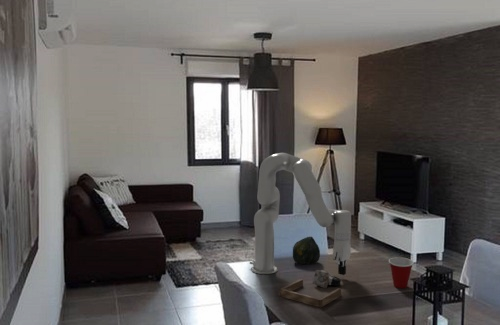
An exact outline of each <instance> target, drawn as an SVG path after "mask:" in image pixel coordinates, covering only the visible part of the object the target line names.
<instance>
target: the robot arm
mask: <svg viewBox="0 0 500 325" xmlns="http://www.w3.org/2000/svg"><path fill="white" fill-rule="evenodd" d="M279 171H286V172H289V173H292V174H293V175H292V176H294V179H295V180H296V182H297V184H298V185H299V188H300V189H301V191H302V193H303V195H304V197H305V200H306V203H307V205H308V208H309V210H310V212H311V215H312V216H313V217H314V219H315V222H316V223H317V224H318V225H319V226H320V227H322V228H328V227H330V226H331V225H332V224H334V242H333V249H332V260H333V261H335V265H337V267H338V268H337V270H338V271H337V274H338V275H342V276H345V275H346V274H347V262H348V260H349V259H350V258H351V255H352V254H351V251H352V250H351V248H352V247H351V239H352V237H351V236H352V212H351V211H350V210H346V209H334V208H328V207H327V205H326V204H325V201H324V198H323V195H322V188H321V185H320V184H319V182H318V179H317V178H316V176H315V175H314V173H313V167H312V164H311V162H310V161H309V160H307V159H304V158H301V157H298V156H296V155H292V154H290V153H287V152H279V153H278V152H277V153H274V154H271V155H269V156H268V157H265V158H264V159H263V161H262V162H261V164H260V167H259V173H258V182H257V183H258V184H257V185H258V186H257V197H256V198H257V202H258V203H259V205H260V206H261V208H260V209H258V210H257V211H256V212H255V214H254V216H253V225H254V257H255V258H254V259H253V258H252V259H250V261H249V264H250V265H253V266H252V268H251V271H252V272H253V273H255V274H259V275H270V274H274V273H277V272H278V267H277V266H275V229H274V224H275V222H277V220H278V219H279V214H280V201H281V200H280V198H281V192H280V190H279V188H278V187H277V186H276V182H277V181H276V180H277V176H276V174H277V173H278V172H279Z"/></svg>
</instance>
